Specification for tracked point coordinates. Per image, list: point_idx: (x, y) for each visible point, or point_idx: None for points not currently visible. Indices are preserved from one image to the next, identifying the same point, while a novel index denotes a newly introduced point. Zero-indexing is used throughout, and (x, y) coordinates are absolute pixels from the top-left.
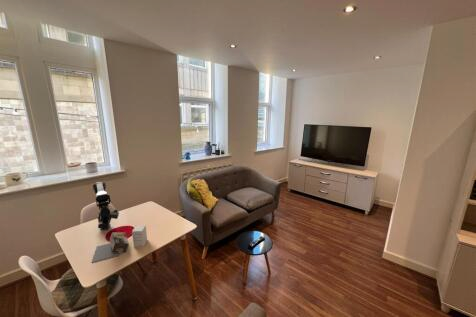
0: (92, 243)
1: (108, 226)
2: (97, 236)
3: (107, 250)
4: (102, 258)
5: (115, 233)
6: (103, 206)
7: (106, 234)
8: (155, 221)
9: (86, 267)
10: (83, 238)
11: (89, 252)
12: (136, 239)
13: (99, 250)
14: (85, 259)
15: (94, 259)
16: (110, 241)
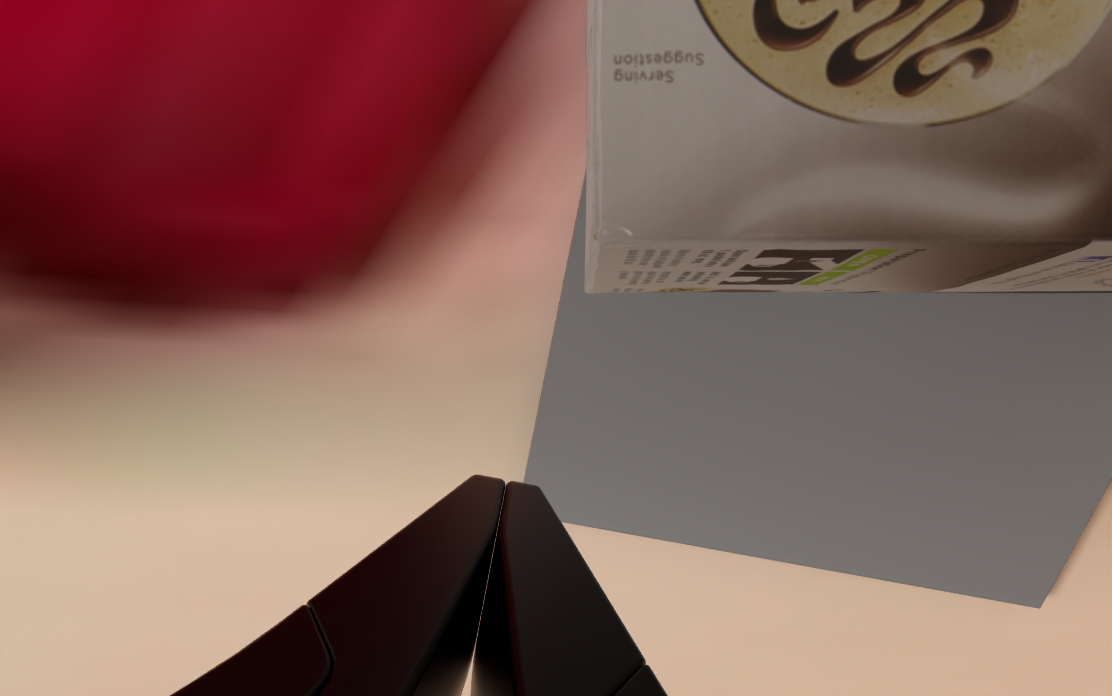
0: (312, 562)
1: (396, 544)
2: (50, 473)
3: (856, 339)
4: (1094, 446)
5: (701, 116)
6: None
7: (31, 300)
8: None
9: (1091, 659)
10: (27, 678)
11: (629, 612)
12: None
13: (723, 478)
14: (821, 666)
15: (993, 566)
16: (754, 289)
